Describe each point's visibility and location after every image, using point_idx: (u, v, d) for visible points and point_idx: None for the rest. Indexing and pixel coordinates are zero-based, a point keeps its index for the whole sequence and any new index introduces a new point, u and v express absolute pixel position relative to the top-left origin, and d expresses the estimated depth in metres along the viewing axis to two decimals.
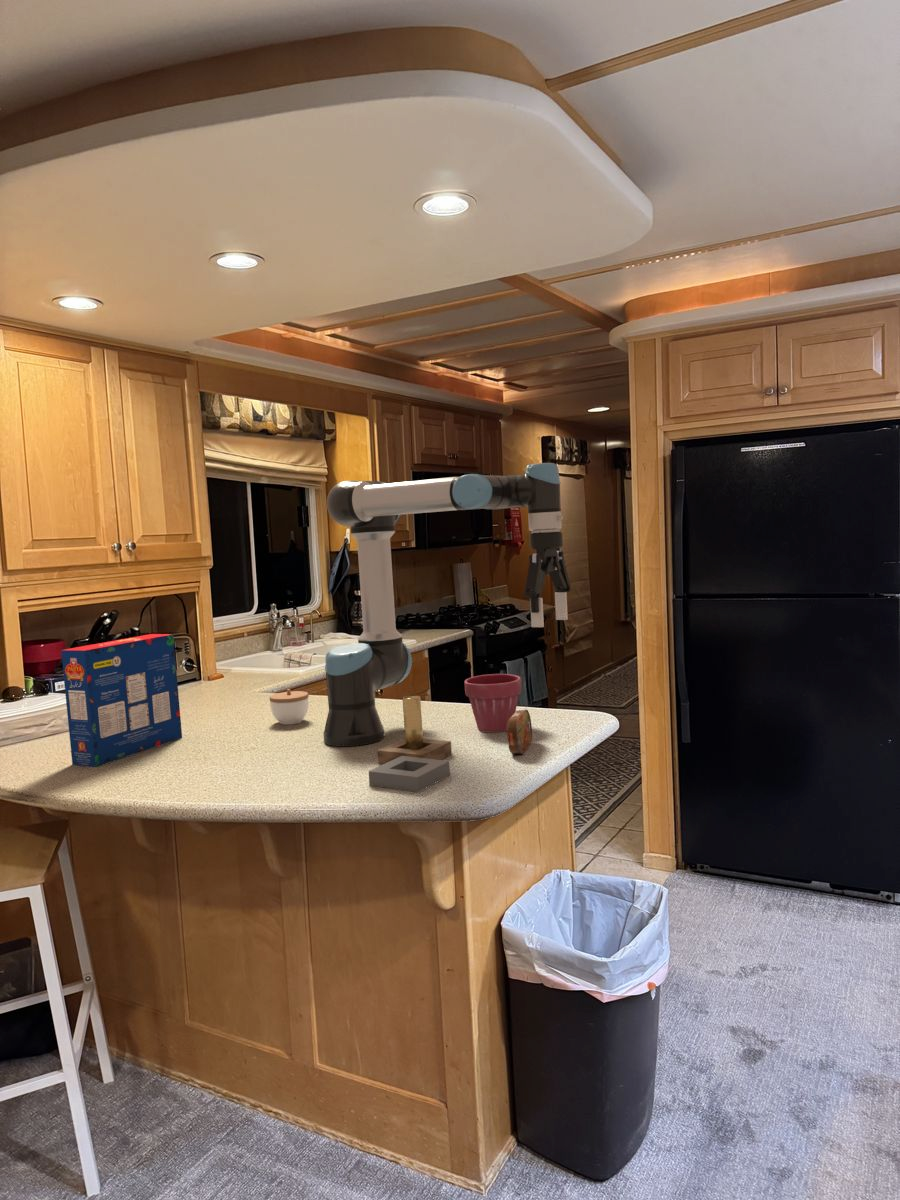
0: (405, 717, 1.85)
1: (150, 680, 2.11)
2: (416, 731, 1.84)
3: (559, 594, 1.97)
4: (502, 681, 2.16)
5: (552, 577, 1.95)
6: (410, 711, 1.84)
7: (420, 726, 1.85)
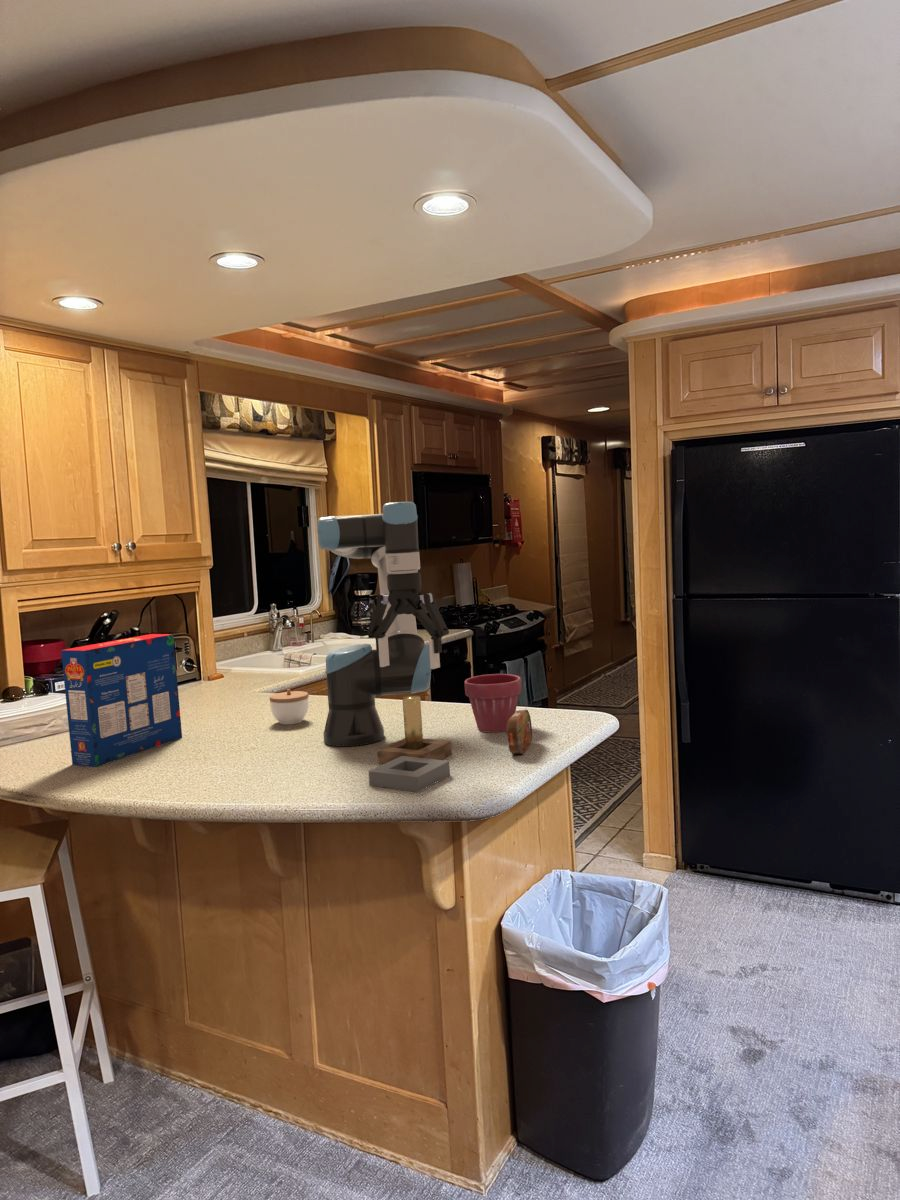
0: (405, 717, 1.85)
1: (150, 680, 2.11)
2: (416, 731, 1.84)
3: None
4: (502, 681, 2.16)
5: None
6: (410, 711, 1.84)
7: (420, 726, 1.85)
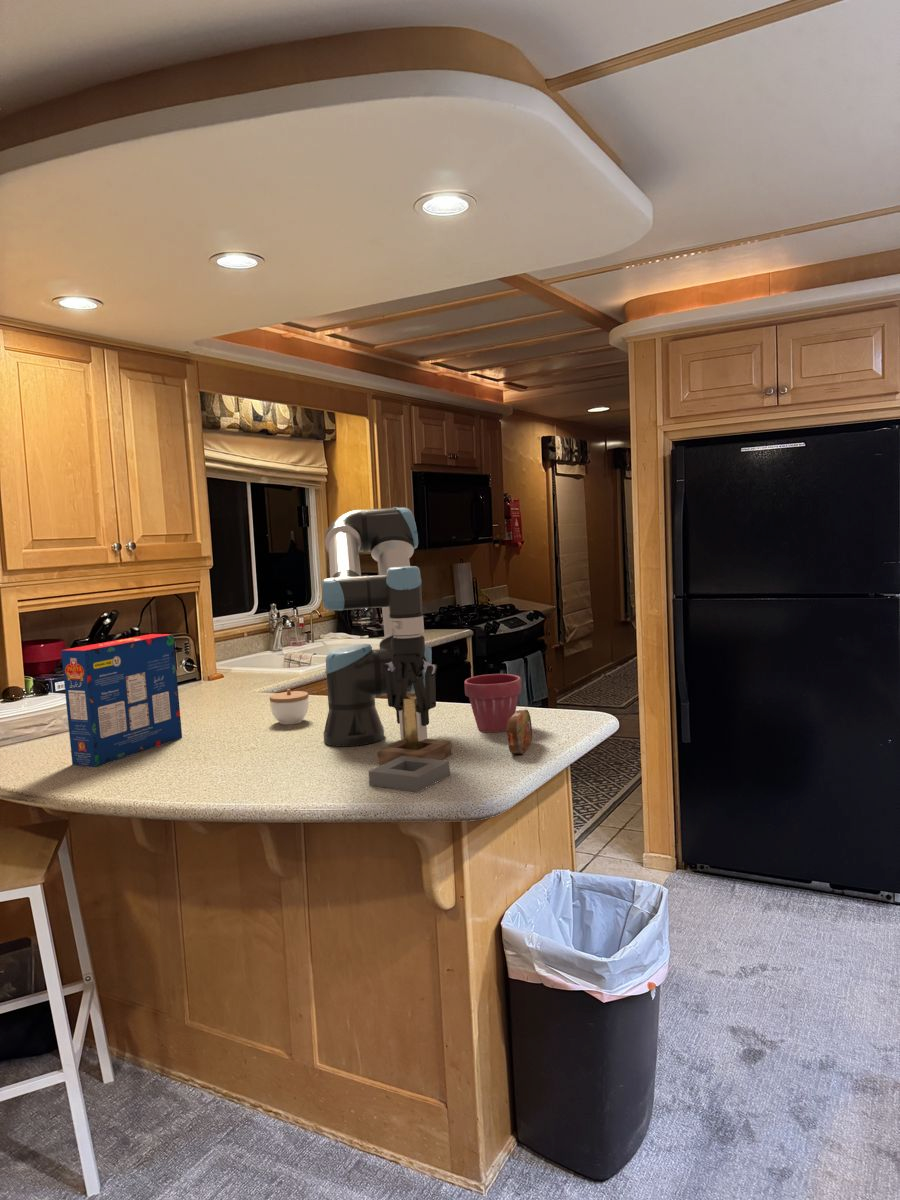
0: (405, 717, 1.85)
1: (150, 680, 2.11)
2: (416, 731, 1.84)
3: None
4: (502, 681, 2.16)
5: None
6: (410, 711, 1.84)
7: None
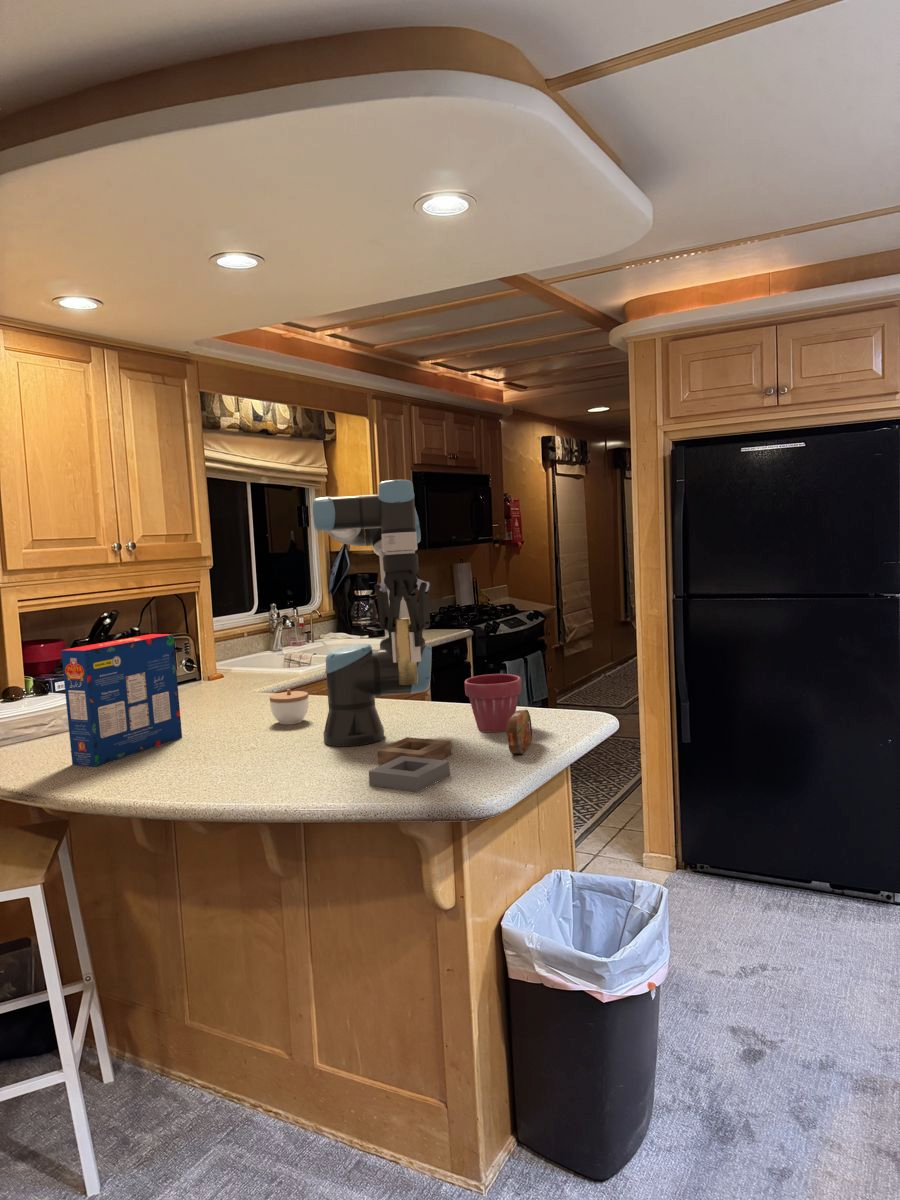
0: (398, 638, 1.77)
1: (150, 680, 2.11)
2: (410, 653, 1.76)
3: None
4: (502, 681, 2.16)
5: None
6: (403, 631, 1.76)
7: None
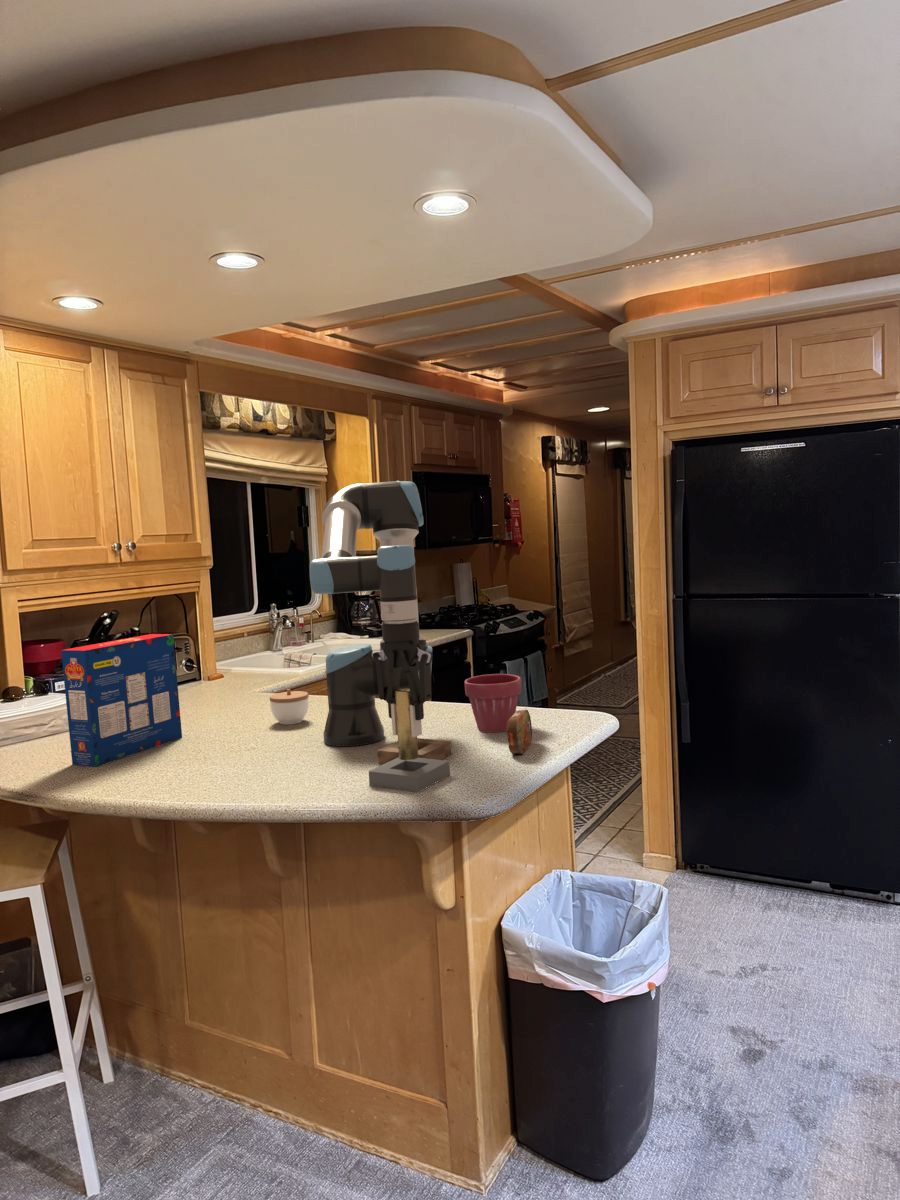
0: (397, 711, 1.68)
1: (150, 680, 2.11)
2: (410, 727, 1.68)
3: None
4: (502, 681, 2.16)
5: None
6: (403, 704, 1.67)
7: None
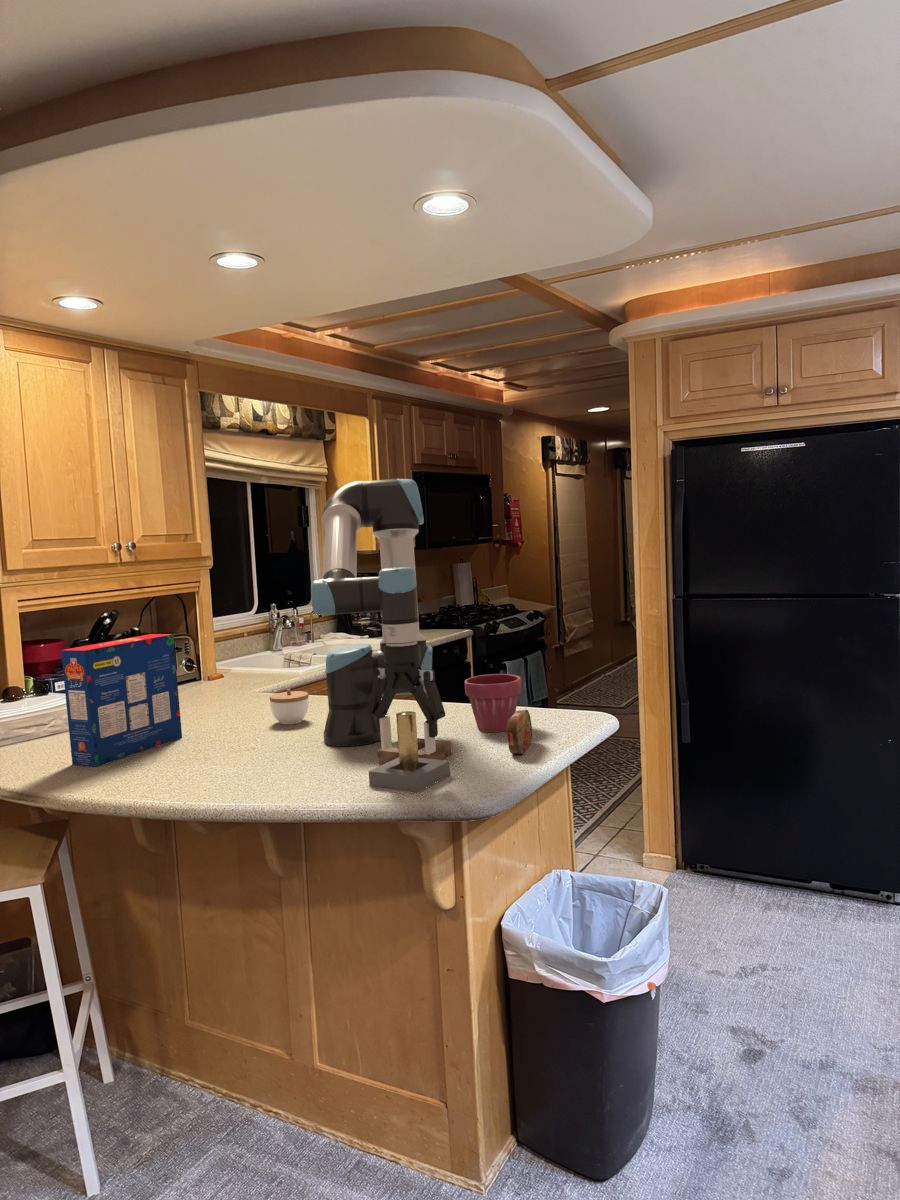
0: (399, 735, 1.69)
1: (150, 680, 2.11)
2: (411, 750, 1.68)
3: None
4: (502, 681, 2.16)
5: None
6: (405, 728, 1.68)
7: (415, 745, 1.69)
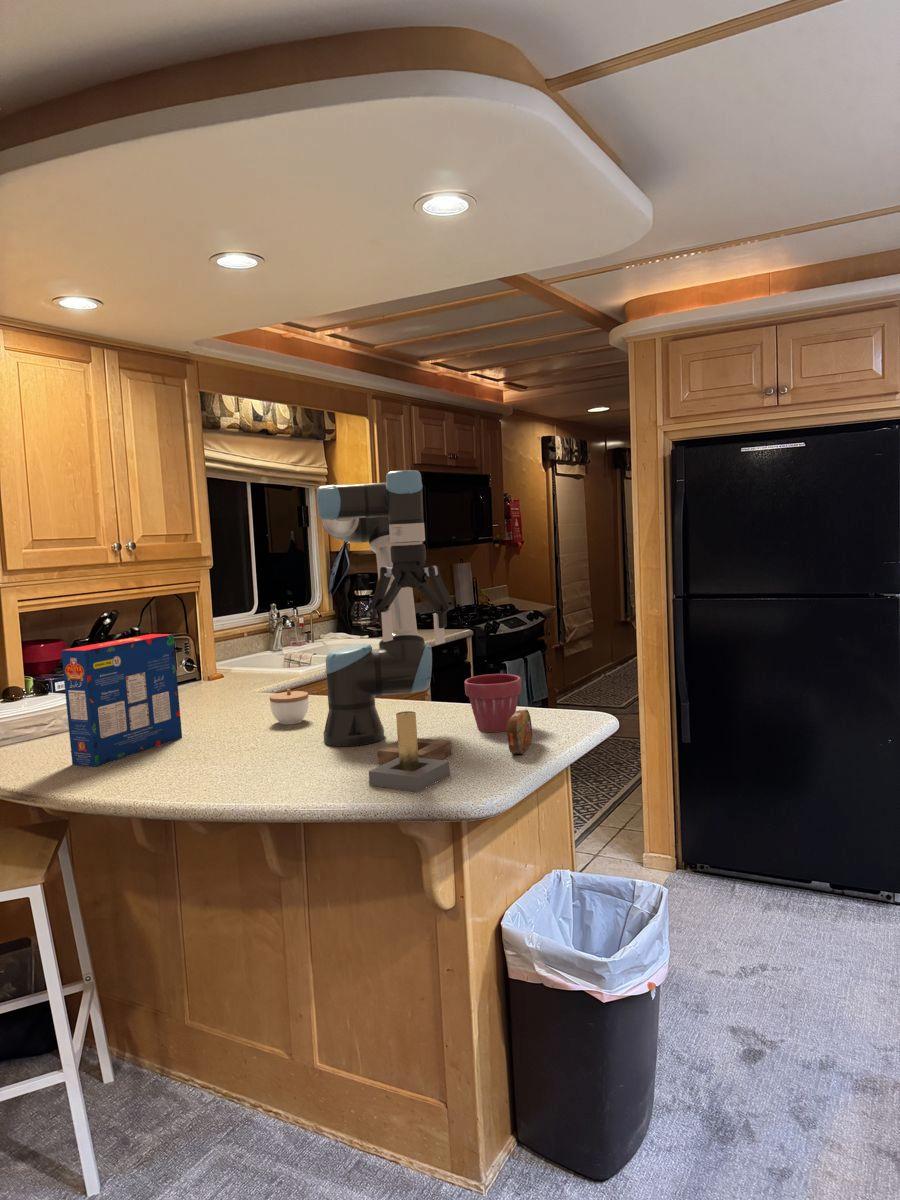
0: (399, 735, 1.69)
1: (150, 680, 2.11)
2: (411, 750, 1.68)
3: None
4: (502, 681, 2.16)
5: None
6: (404, 728, 1.68)
7: (415, 745, 1.69)
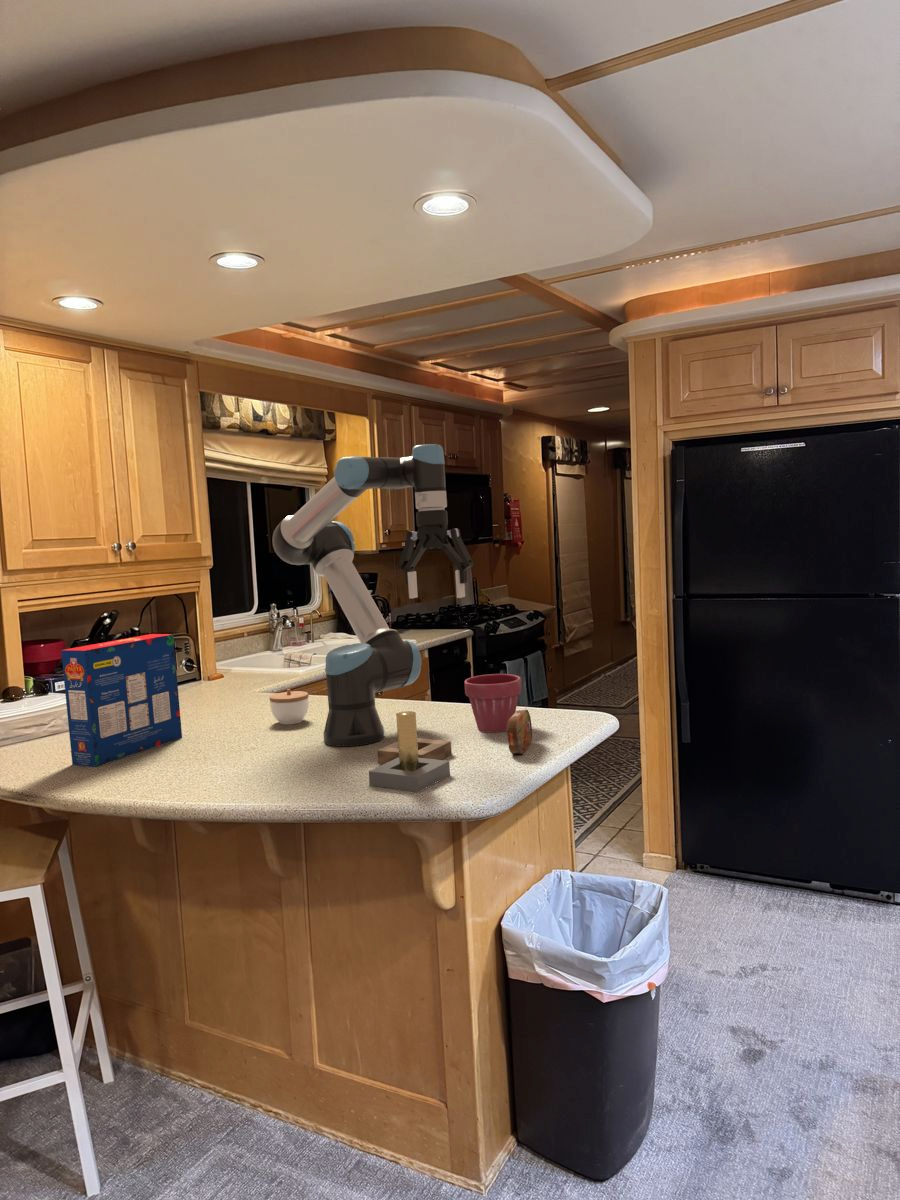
0: (399, 735, 1.69)
1: (150, 680, 2.11)
2: (411, 750, 1.68)
3: None
4: (502, 681, 2.16)
5: None
6: (405, 728, 1.68)
7: (415, 745, 1.69)
